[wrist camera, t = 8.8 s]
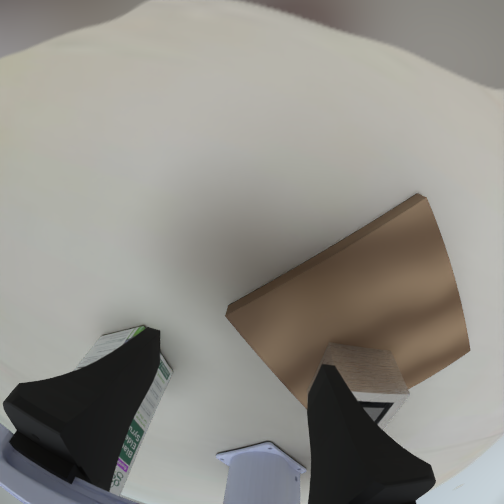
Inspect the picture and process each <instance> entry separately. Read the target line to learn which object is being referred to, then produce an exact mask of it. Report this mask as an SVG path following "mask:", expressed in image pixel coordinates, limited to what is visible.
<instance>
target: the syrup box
mask: <svg viewBox="0 0 504 504" xmlns="http://www.w3.org/2000/svg"><path fill="white" fill-rule="evenodd" d="M144 329H145V327H144V326H141V327H137V328H132V329H128V330H124V331H120V332H116V333H112V334H108V335H104V336H101V337H100V338H99V339H98V341H97V342H96V343H95V344H94V346H93V347H92V348H91V349H90V351H89V352H88V353H87V354H86V355H85V357H84V358H83V359H82V360H81V362H80V363H79V364H78V366H77V367H76V368H75V369H74V371H75V370H78V369H80V368H83V367H85V366H87V365H89V364H91V363H93V362H95V361H97V360H99V359H101V358H102V357H104V356H106V355H107V354H109V353H111V352H112V351H114V350H116V349H117V348H119V347H120V346H121V345H123V344H124V343H126V342H127V341H129V340H130V339H132V338H133V337H134V336H136V335H137V334H138V333H140V332H141V331H143V330H144ZM172 372H173V371H172V369H171V368H170V367H169V366H168V364H167V363H166V361H165V359H164V358H163V356H162V355H161V353H160V365H159V368H158V371H157V373H156V376H155V378H154V381H153V383H152V385H151V387H150V389H149V391H148V392H147V394H146V396H145V398H144V400H143V402H142V403H141V405H140V407H139V409H138V411H137V413H136V415H135V416H134V418H133V421H132V423H131V425H130V428H129V430H128V433H127V436H126V438H125V441H124V444H123V447H122V450H121V453H120V455H119V459H118V462H117V465H116V469H115V472H114V476H113V480H112V484H111V487H110V493H112V494H115V495H117V496H120V494H121V492H122V489H123V487H124V485H125V482H126V480H127V477H128V475H129V473H130V470H131V468H132V465H133V463H134V460H135V458H136V455H137V453H138V451H139V448H140V446H141V443H142V441H143V439H144V436H145V434H146V432H147V429H148V427H149V425H150V422H151V420H152V418H153V415H154V413H155V411H156V408H157V406H158V404H159V402H160V399H161V397H162V395H163V393H164V391H165V388H166V386H167V384H168V382H169V380H170V378H171V376H172Z"/></svg>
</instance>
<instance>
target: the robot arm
mask: <svg viewBox="0 0 504 504" xmlns="http://www.w3.org/2000/svg"><path fill="white" fill-rule="evenodd" d="M159 365H160V331H159V330H156V329H152V328H149V327H147V328H145V329H144V330H143V331H141V332H140V333H138V334H137V335H136V336H134V337H133V338H132V339H130V340H129V341H127V342H126V343H124V344H123V345H121V346H120V347H119V348H117V349H116V350H114V351H112V352H111V353H109V354H107V355H106V356H104V357H102V358H101V359H99V360H97V361H95V362H93V363H91V364H89V365H87V366H85V367H83V368H80V369H78V370H75V371H72V372H70V373H67V374H64V375H61V376H57V377H54V378H50V379H45V380H40V381H34V382H27V383H19V384H18V385H17V386H16V387H15V389H14V390H13V391H12V392H11V393H10V395H9V396H8V397H7V398H6V399H5V401H4V402H3V407H4V410H5V412H6V414H7V416H8V417H9V419H10V420H11V422H12V423H13V425H14V426H15V428H16V429H17V431H16V432H15V434H13V433H12V432H11V431H10V430H8V429H7V428H6V427H5V426H3V425H2V424H1V423H0V486H1V487H2V488H4V489H5V490H6V491H7V492H9V493H10V494H11V495H13V496H14V497H15V498H17V499H18V500H19V501H21V502H22V503H24V504H139V503H136V502H133V501H131V500H128V499H125V498H123V497H120V496H117V495H115V494H112V493H110V487H111V484H112V480H113V476H114V472H115V469H116V465H117V462H118V459H119V455H120V453H121V450H122V447H123V444H124V441H125V438H126V436H127V433H128V430H129V428H130V425H131V423H132V421H133V418H134V416H135V415H136V413H137V411H138V409H139V407H140V405H141V403H142V402H143V400H144V398H145V396H146V394H147V392H148V391H149V389H150V387H151V385H152V383H153V381H154V378H155V376H156V373H157V371H158V368H159ZM307 416H308V426H309V437H310V447H311V478H310V491H309V500H308V504H416V500H417V499H418V498H419V497H421V496H422V495H424V494H425V493H426V492H428V491H429V490H430V489H431V488H432V487H433V486H434V485H435V482H436V480H435V477H434V473H433V470H432V467H431V465H430V464H428V463H426V462H425V461H423V460H421V459H419V458H418V457H416V456H414V455H413V454H411V453H410V452H408V451H407V450H406V449H404V448H403V447H401V446H400V445H399V444H398V443H396V442H395V441H394V440H393V439H392V438H391V437H389V436H388V435H387V434H386V433H385V432H384V431H383V430H382V429H381V428H380V427H379V426H378V425H377V424H376V423H375V422H374V421H373V419H372V418H371V417H370V416H369V415H368V413H367V412H366V411H365V410H364V408H363V407H362V406H361V404H360V403H359V402H358V400H357V399H356V398H355V396H354V395H353V393H352V392H351V390H350V389H349V387H348V386H347V384H346V383H345V381H344V379H343V378H342V376H341V375H340V373H339V371H338V370H337V368H336V367H335V365H327V364H322V365H321V367H320V369H319V371H318V374H317V376H316V378H315V380H314V382H313V384H312V386H311V389H310V391H309V393H308V404H307ZM216 458H217V459H219V460H220V461H222V462H223V463H225V464H226V465H228V466H229V472H228V478H227V484H226V490H225V496H224V502H223V504H300V474H301V473H305V472H306V468H304V467H303V466H301V465H300V464H299V463H297V462H296V461H294V460H293V459H292V458H290V457H289V456H288V455H286V454H285V453H284V452H282V451H281V450H280V449H279V448H277V447H276V446H275V445H273V444H272V443H270V442H266V443H262V444H258V445H254V446H251V447H246V448H242V449H238V450H234V451H229V452H224V453H219V454H217V455H216Z"/></svg>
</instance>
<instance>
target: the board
mask: <svg viewBox="0 0 504 504" xmlns="http://www.w3.org/2000/svg"><path fill="white" fill-rule="evenodd" d="M225 316H226V318H227V319H228V320H229V321H230V323H231V324H232V325H233V326H234V327H235V329H236V330H237V331H238V332H239V333H240V335H241V336H242V337H243V338H244V339H245V340H246V342H247V343H248V344H249V345H250V346H251V348H252V349H253V350H254V351H255V352H256V353H257V354H258V356H259V357H260V358H261V359H262V360H263V361H264V363H265V364H266V365H267V366H268V367H269V368H270V369H271V371H272V372H273V373H274V374H275V375H276V376H277V377H278V378H279V380H280V381H281V382H282V383H283V384H284V385H285V386H286V387H287V388H288V389H289V391H290V392H291V393H292V394H293V395H294V396H295V397H296V398H297V399H298V400H299V401H300V403H301V404H302V405H303V406H304V407H305V408H306V409H307V404H308V403H307V389H308V387H309V385H310V383H311V381H312V379H313V377H314V374H315V372H316V370H317V368H318V366H319V364H320V362H321V359H322V357H323V355H324V353H325V350H326V348H327V346H328V344H329V342H330V343H336V344H343V345H350V346H357V347H364V348H371V349H379V350H387V351H391V352H392V354H393V356H394V359H395V361H396V363H397V365H398V368H399V370H400V372H401V374H402V377H403V379H404V381H405V384H406V386H407V388H408V389H410V388H411V387H413V386H415V385H417V384H419V383H420V382H422V381H424V380H426V379H427V378H429V377H431V376H432V375H434V374H436V373H437V372H439V371H440V370H442V369H444V368H445V367H447V366H448V365H450V364H451V363H453V362H454V361H456V360H457V359H459V358H460V357H462V356H463V355H465V354H466V353H468V352H469V351H470V345H469V339H468V333H467V328H466V323H465V318H464V313H463V309H462V304H461V300H460V296H459V292H458V288H457V284H456V281H455V277H454V274H453V270H452V267H451V263H450V260H449V257H448V254H447V251H446V248H445V245H444V242H443V239H442V236H441V233H440V230H439V228H438V225H437V222H436V220H435V217H434V214H433V212H432V209H431V207H430V204H429V202H428V200H427V197H424V196H422V195H420V194H415V195H414V196H412V197H411V198H409V199H408V200H406V201H404V202H403V203H401V204H400V205H398V206H397V207H395V208H393V209H392V210H390V211H389V212H387V213H385V214H384V215H382V216H381V217H379V218H377V219H376V220H374V221H373V222H371V223H369V224H368V225H366V226H364V227H363V228H361V229H359V230H358V231H356V232H355V233H353V234H351V235H350V236H348V237H346V238H345V239H343V240H341V241H340V242H338V243H336V244H335V245H333V246H331V247H330V248H328V249H326V250H325V251H323V252H321V253H319V254H318V255H316V256H314V257H313V258H311V259H309V260H308V261H306V262H304V263H302V264H301V265H299V266H297V267H296V268H294V269H292V270H290V271H289V272H287V273H285V274H283V275H282V276H280V277H278V278H276V279H275V280H273V281H271V282H269V283H268V284H266V285H264V286H262V287H261V288H259V289H257V290H255V291H253V292H252V293H250V294H248V295H246V296H244V297H243V298H241V299H239V300H237V301H235V302H234V303H232V304H230V305H228V308H227V312H226V315H225Z"/></svg>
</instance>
